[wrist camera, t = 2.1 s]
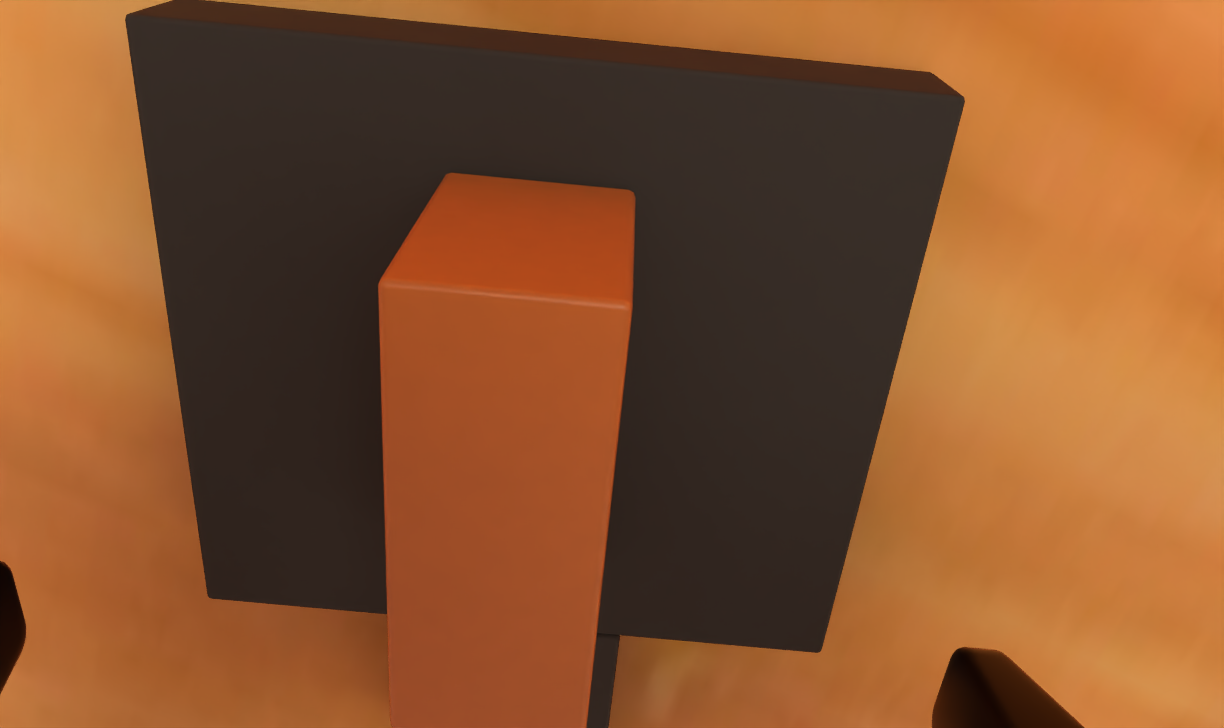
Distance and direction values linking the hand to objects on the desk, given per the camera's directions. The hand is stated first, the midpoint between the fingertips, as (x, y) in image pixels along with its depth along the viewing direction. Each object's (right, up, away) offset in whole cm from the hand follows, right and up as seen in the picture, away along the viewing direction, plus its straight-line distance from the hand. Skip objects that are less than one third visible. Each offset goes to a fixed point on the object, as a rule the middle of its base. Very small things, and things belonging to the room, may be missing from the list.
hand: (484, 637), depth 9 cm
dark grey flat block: (0, +1, +6) cm, 7 cm away
